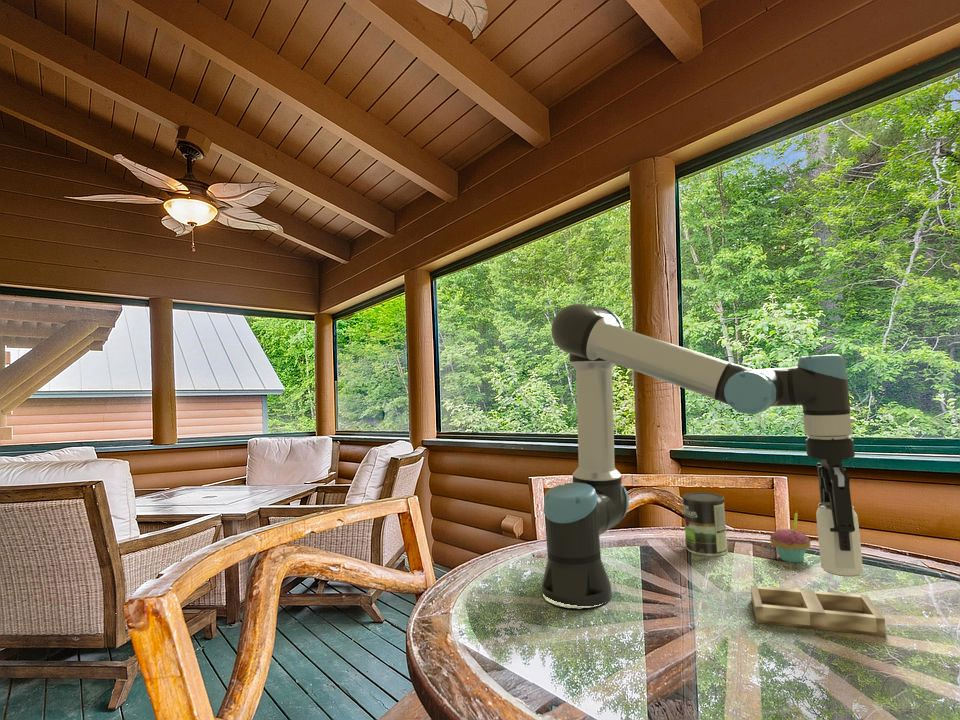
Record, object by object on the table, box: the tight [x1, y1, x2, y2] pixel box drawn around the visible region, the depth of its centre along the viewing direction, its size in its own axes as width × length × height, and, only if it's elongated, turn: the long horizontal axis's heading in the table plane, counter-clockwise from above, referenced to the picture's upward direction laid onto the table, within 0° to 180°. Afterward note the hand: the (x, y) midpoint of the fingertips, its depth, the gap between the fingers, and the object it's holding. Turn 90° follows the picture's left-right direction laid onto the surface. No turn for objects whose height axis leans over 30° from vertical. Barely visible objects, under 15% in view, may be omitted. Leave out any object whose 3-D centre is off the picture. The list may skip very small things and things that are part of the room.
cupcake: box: [769, 510, 811, 563], centre depth 128 cm, size 9×8×12 cm
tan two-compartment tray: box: [749, 585, 887, 637], centre depth 99 cm, size 20×10×3 cm, turn 67°
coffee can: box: [681, 491, 729, 557], centre depth 139 cm, size 10×10×14 cm
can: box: [815, 502, 864, 578], centre depth 98 cm, size 6×6×12 cm
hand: (840, 560), depth 97 cm, fingers closed on can, 6 cm apart
